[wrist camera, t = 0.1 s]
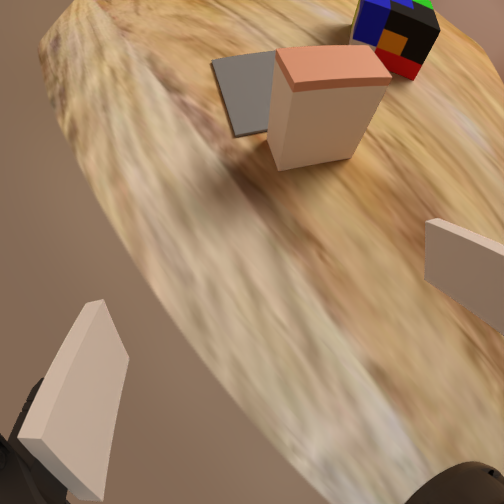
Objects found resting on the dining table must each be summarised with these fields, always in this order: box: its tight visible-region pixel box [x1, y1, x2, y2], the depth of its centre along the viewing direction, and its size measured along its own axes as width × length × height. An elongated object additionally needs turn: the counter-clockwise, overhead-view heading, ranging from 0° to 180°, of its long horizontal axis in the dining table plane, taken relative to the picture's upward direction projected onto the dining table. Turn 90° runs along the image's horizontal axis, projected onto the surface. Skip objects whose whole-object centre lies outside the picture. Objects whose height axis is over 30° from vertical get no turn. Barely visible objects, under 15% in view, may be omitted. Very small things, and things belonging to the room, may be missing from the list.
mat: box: [212, 51, 276, 137], centre depth 34 cm, size 13×14×1 cm
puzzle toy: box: [349, 0, 440, 81], centre depth 32 cm, size 10×10×10 cm
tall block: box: [267, 45, 392, 171], centre depth 25 cm, size 4×8×12 cm, turn 105°
